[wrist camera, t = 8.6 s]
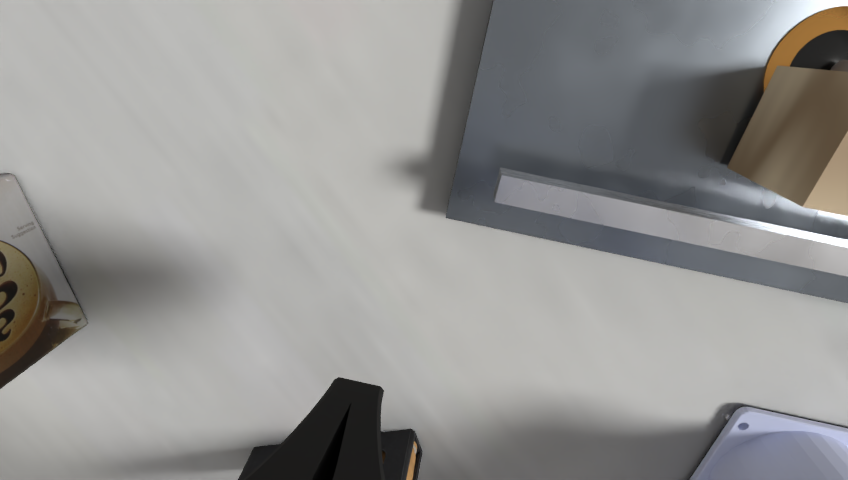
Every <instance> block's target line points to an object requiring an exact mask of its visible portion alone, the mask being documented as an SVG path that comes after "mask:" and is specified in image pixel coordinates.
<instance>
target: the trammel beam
mask: <svg viewBox="0 0 848 480" xmlns="http://www.w3.org/2000/svg"><path fill="white" fill-rule="evenodd" d="M494 202H496V203H501V204H505V205H510V206H515V207H520V208H524V209H529V210H534V211H539V212H543V213H548V214H553V215H558V216H562V217H567V218H572V219H577V220H581V221H586V222H591V223H596V224H600V225H605V226H610V227H615V228H619V229H624V230H629V231H633V232H638V233H643V234H648V235H652V236H657V237H662V238H667V239H671V240H676V241H681V242H686V243H690V244H695V245H700V246H705V247H709V248H714V249H719V250H724V251H728V252H733V253H738V254H743V255H747V256H752V257H757V258H762V259H766V260H771V261H776V262H781V263H785V264H790V265H795V266H800V267H804V268H809V269H814V270H819V271H823V272H828V273H833V274H838V275H842V276H847V277H848V240H845V239H840V238H835V237H831V236H826V235H821V234H816V233H812V232H807V231H802V230H797V229H792V228H788V227H783V226H778V225H773V224H769V223H764V222H759V221H754V220H749V219H745V218H740V217H735V216H730V215H726V214H721V213H716V212H711V211H706V210H702V209H697V208H692V207H687V206H682V205H678V204H673V203H668V202H663V201H659V200H654V199H649V198H644V197H639V196H635V195H630V194H625V193H620V192H616V191H611V190H606V189H601V188H596V187H592V186H587V185H582V184H577V183H572V182H568V181H563V180H558V179H553V178H549V177H544V176H539V175H534V174H529V173H525V172H520V171H515V170H510V169H506V168H501V167H500V170H499V174H498V178H497V182H496V186H495V189H494Z"/></svg>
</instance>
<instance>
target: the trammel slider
mask: <svg viewBox="0 0 848 480" xmlns="http://www.w3.org/2000/svg"><path fill="white" fill-rule="evenodd" d="M727 168H728V169H730V170H732V171H734V172H736V173H738V174H740V175H742V176H744V177H746V178H748V179H750V180H751V181H753V182H755V183H757V184H759V185H761V186H763V187H765V188H767V189H769V190H771V191H773V192H775V193H777V194H778V195H780V196H782V197H784V198H786V199H788V200H790V201H792V202H794V203H796V204H798V205H800V206H802V207H805V208H810V209H815V210H820V211H824V212H829V213H834V214H839V215H844V216H848V60H842V61H839V62H837V63H836V64H835V65H834V66H833V67H832V68H831V70H821V69H810V68H799V67H788V66H777V68H776V70H775V72H774V74H773V76H772V78H771V80H770V82H769V84H768V86H767V88H766V90H765V92H764V94H763V96H762V98H761V100H760V102H759V104H758V106H757V108H756V110H755V112H754V114H753V116H752V118H751V120H750V122H749V124H748V126H747V128H746V130H745V132H744V134H743V136H742V138H741V140H740V142H739V144H738V146H737V148H736V150H735V152H734V154H733V156H732V158H731V161H730V163H729V165H728V167H727Z"/></svg>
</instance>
